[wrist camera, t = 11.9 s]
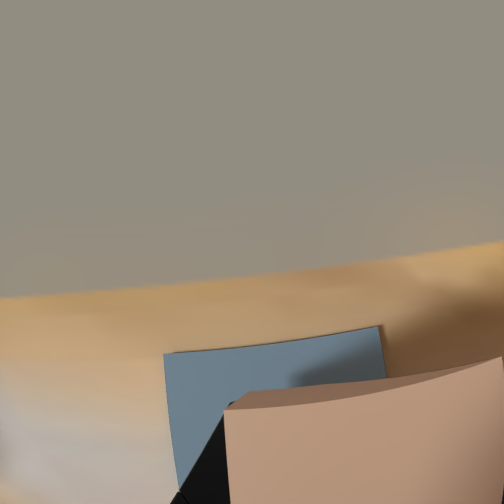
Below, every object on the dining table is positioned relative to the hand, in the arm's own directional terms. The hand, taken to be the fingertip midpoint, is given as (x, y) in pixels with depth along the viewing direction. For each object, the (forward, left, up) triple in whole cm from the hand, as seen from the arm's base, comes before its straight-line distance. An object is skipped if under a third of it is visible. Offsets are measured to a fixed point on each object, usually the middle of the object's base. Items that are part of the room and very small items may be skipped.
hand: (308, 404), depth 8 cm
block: (-1, +1, -7) cm, 7 cm away
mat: (-1, +1, -10) cm, 10 cm away
